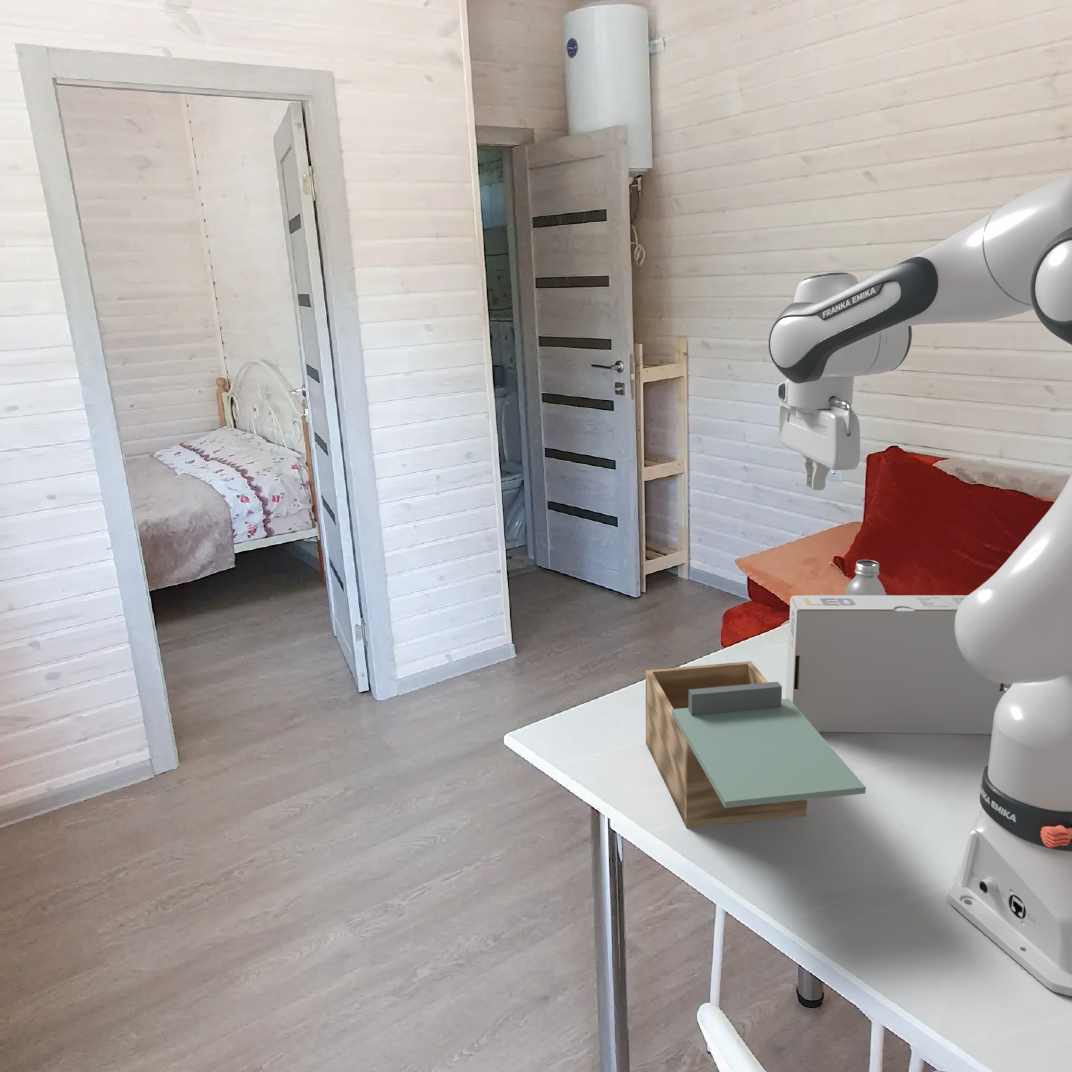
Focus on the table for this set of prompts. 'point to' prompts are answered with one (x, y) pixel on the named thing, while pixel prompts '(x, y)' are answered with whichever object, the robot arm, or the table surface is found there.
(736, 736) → the lid
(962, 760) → the table surface
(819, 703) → the packaging
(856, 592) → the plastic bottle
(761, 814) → the wooden box
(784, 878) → the table surface
